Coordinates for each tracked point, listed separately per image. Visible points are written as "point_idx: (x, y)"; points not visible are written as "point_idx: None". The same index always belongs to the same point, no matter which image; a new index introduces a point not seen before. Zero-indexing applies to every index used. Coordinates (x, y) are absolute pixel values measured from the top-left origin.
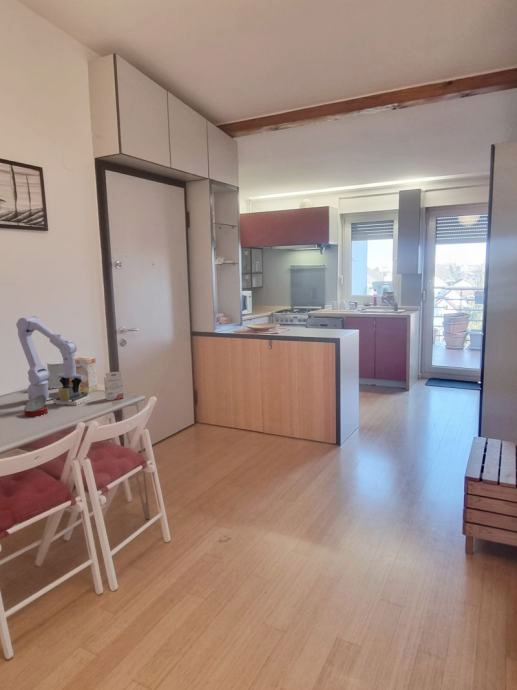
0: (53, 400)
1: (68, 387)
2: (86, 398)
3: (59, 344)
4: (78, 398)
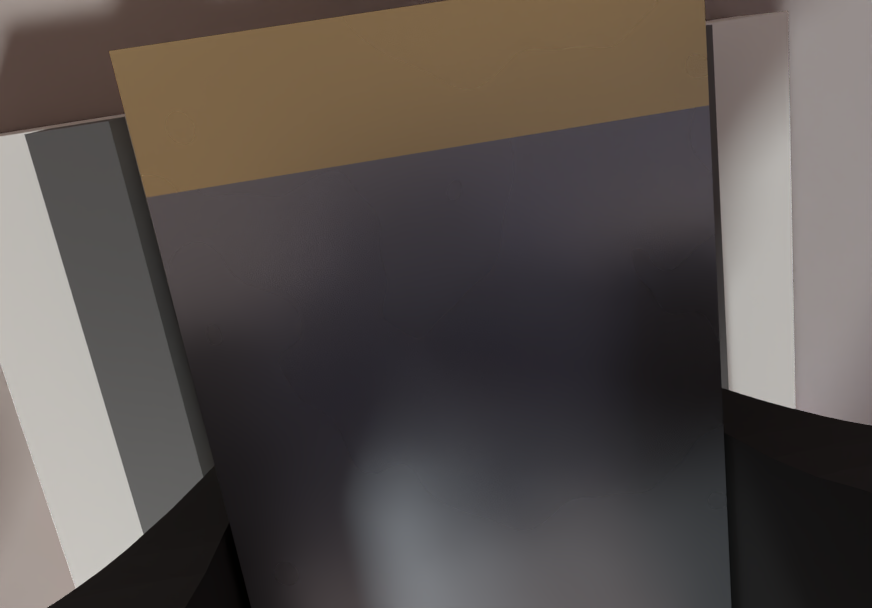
0: (774, 14)
1: (323, 330)
2: (76, 558)
3: None
4: (107, 368)
